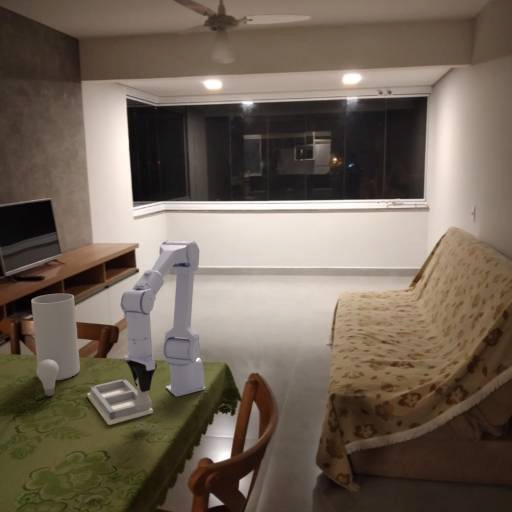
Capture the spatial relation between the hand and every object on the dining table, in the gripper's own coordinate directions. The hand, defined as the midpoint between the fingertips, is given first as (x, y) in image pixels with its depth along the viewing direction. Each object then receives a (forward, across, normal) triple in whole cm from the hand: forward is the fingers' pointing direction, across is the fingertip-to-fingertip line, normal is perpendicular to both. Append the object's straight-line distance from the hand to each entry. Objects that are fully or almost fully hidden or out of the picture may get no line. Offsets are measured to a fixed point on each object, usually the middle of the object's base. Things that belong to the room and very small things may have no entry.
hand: (142, 388), depth 134 cm
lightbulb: (+10, -32, -17) cm, 38 cm away
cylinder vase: (+10, -48, -11) cm, 50 cm away
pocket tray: (+10, -15, -2) cm, 18 cm away
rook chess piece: (+5, 0, 0) cm, 5 cm away
